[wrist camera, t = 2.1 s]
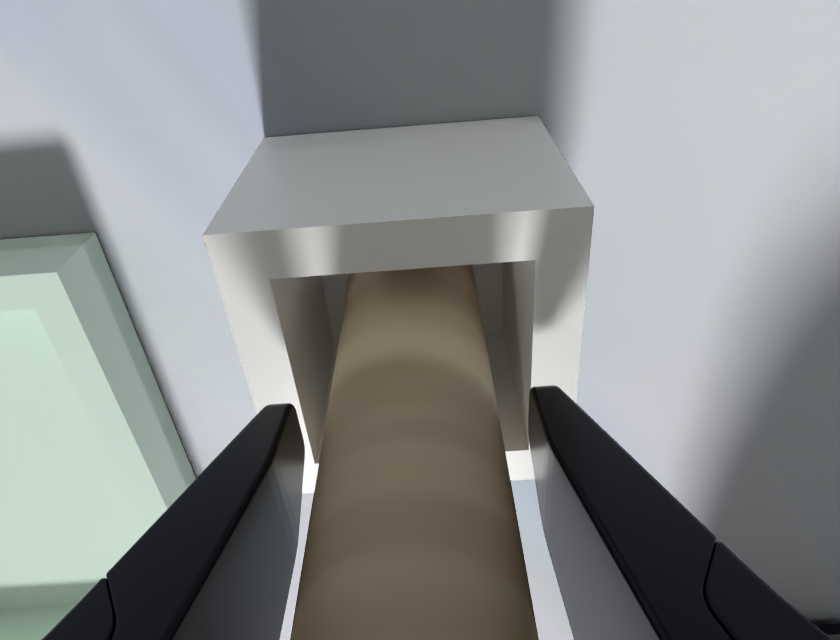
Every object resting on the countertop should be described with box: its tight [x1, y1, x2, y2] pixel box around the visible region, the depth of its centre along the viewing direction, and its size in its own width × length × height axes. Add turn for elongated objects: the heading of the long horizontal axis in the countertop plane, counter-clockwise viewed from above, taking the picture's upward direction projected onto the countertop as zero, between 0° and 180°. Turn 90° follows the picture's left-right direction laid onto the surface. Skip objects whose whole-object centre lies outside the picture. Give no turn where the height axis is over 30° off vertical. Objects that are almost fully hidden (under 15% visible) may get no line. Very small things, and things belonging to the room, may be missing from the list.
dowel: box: [290, 265, 539, 640], centre depth 9 cm, size 3×3×10 cm
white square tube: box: [203, 116, 594, 493], centre depth 12 cm, size 6×6×4 cm
